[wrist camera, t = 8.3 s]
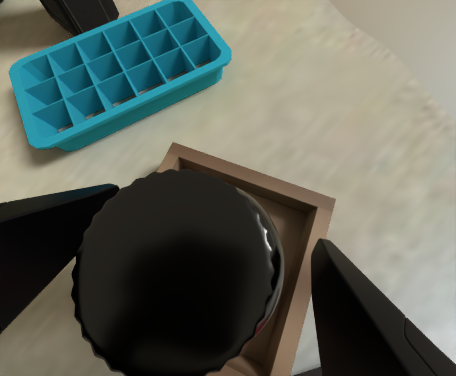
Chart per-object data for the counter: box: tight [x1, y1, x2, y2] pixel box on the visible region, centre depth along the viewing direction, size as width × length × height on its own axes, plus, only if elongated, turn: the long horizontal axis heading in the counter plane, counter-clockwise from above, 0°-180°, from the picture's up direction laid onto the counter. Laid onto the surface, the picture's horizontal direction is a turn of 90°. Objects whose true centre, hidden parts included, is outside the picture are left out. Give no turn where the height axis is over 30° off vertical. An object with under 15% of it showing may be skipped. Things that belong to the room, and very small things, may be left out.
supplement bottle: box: [71, 169, 284, 376], centre depth 11 cm, size 7×7×12 cm
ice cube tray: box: [9, 0, 231, 152], centre depth 22 cm, size 12×20×3 cm, turn 120°
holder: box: [157, 142, 336, 376], centre depth 16 cm, size 13×13×3 cm
